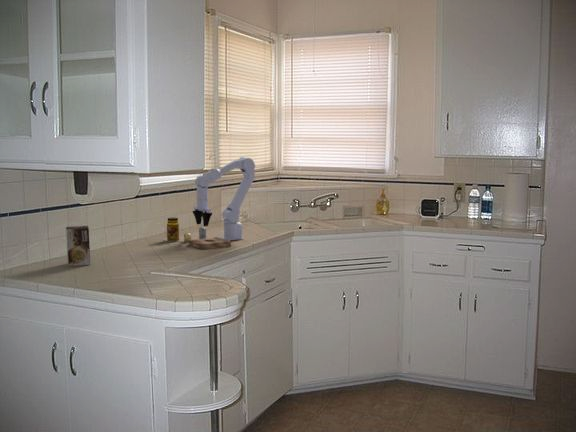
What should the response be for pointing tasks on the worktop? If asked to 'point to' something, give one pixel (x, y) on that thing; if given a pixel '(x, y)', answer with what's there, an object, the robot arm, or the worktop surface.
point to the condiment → (172, 230)
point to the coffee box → (78, 245)
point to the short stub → (187, 237)
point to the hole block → (209, 243)
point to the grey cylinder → (202, 232)
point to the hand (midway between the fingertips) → (202, 225)
